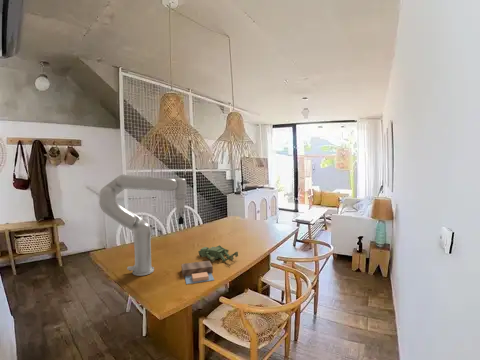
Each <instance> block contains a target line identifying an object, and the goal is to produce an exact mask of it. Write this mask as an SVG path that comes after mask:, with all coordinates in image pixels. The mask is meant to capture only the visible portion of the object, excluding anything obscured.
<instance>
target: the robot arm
mask: <svg viewBox="0 0 480 360" xmlns="http://www.w3.org/2000/svg"><path fill="white" fill-rule="evenodd" d="M124 190H139V191H140V190H142V191H159V192H160V191H161V192H164V191H165V192H172V191H174V200H175V214H176V215H178V218H177V219H178V221H177V222H178V223H177V224H178V225H184V224H185V223H184V222H185V221H184V215H185V205H186V204H185V200H186V199H187V180H186V178H184V177H178V178H177V177H176V178H168V177H167V178H166V177H165V178H160V177H153V176H149V175H148V176H146V175H130V174H119V175H118V176H116V177H115V178H114V179H112V180H111V181H110V182H109V183H107V184H106V185H104V186H103V187H101V189H100V190H99V201H98V203H99V206H100V207H99V208H100V209H101V211H102V212H103V213H104V214H105V215H107V216H108V217H109V218H111V219H112V220H114V221H115V222H117V223H118V224H119V225H121V226H122V227H124V228H127V229H128V230H130V231H132V232H133V235H134V236H133V238H134V240H133V245H134V247H133V248H134V265H133V266H129V265H128V266H127V270H128V271H129V272H131V271H132V275H134V276H138V277H139V276H141V277H144V276H146V275H150V274H152V273H153V272H154V271H155V267H154V266H152V244H151V238H152V229H151V228H152V227H151V226H150V224H149V223H148V222H147V221H146V220H145V219H143V218H141V217H140V216H139V215H138V214H136V213H134V212H133V211H132V210H130V209H126V208H124V207H123V206H122V205H120V204H119V203H118V202H117V195H118V194H120V193H122V191H124Z"/></svg>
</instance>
